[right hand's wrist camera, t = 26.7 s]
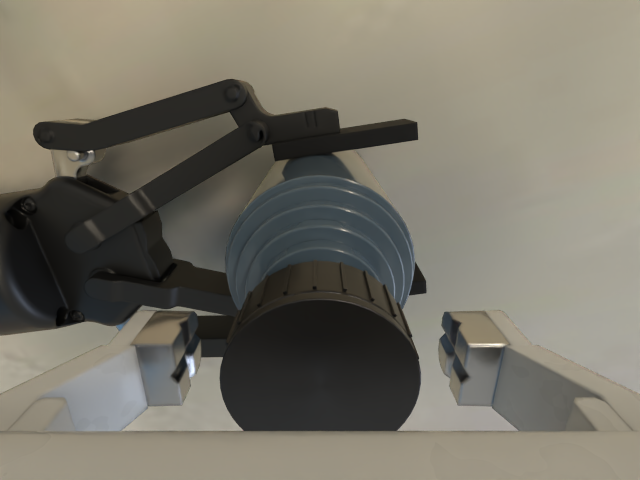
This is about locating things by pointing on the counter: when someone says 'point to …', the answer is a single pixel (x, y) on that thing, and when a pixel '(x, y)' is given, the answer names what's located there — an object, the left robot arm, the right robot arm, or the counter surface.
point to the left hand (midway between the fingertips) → (414, 207)
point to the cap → (320, 354)
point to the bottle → (320, 225)
